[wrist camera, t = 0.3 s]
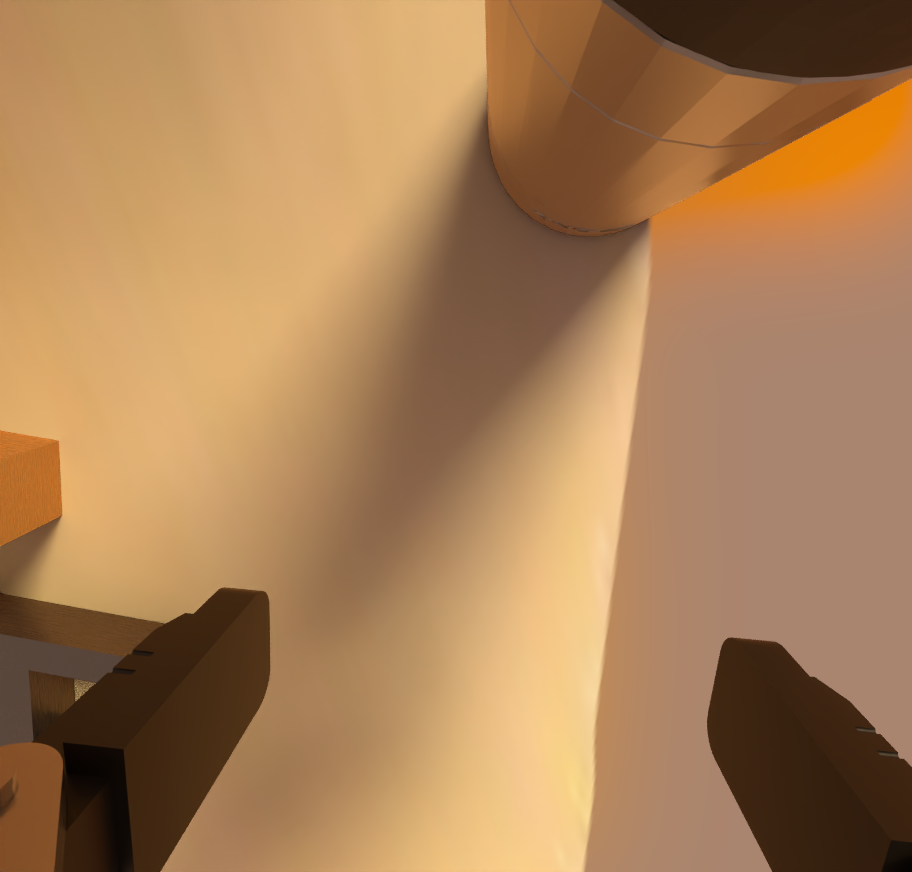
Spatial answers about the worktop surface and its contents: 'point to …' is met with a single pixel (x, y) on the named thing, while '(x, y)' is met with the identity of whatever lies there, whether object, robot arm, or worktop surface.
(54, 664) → the block with square holes
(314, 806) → the worktop surface
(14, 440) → the wooden peg
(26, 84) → the worktop surface
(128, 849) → the robot arm
